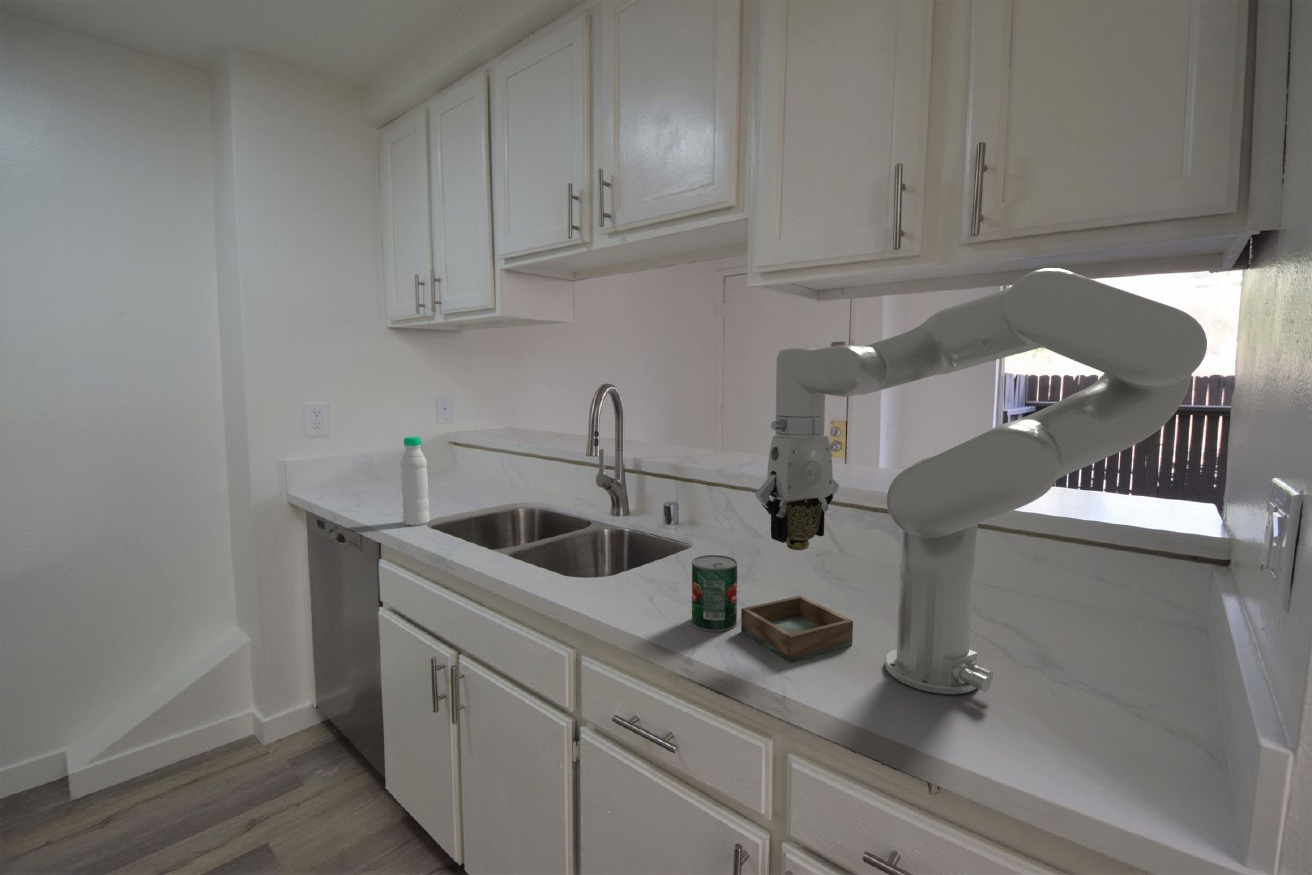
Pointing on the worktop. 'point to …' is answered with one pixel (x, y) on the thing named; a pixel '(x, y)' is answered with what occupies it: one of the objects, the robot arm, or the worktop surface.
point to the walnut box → (796, 628)
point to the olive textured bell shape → (802, 522)
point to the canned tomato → (714, 593)
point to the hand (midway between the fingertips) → (797, 536)
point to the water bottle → (414, 483)
